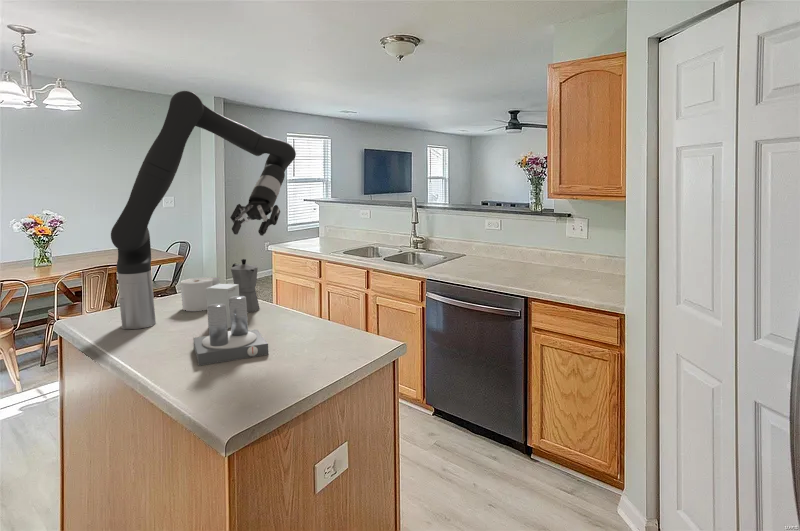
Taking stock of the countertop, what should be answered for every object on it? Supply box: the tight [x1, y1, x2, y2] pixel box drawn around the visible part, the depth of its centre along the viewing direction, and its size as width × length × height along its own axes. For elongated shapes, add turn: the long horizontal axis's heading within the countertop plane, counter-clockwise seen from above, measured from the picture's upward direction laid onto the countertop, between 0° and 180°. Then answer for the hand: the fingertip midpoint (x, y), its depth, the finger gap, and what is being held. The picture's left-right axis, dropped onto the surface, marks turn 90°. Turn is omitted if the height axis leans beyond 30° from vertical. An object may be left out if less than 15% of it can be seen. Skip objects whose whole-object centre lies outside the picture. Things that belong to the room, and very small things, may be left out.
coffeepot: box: [230, 258, 261, 314], centre depth 172 cm, size 15×9×18 cm, turn 44°
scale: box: [192, 328, 269, 366], centre depth 130 cm, size 17×14×4 cm
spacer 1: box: [207, 304, 229, 346], centre depth 125 cm, size 4×4×10 cm
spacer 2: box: [229, 296, 249, 336], centre depth 133 cm, size 4×4×10 cm
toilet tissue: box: [180, 276, 221, 312], centre depth 175 cm, size 11×12×10 cm
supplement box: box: [206, 283, 239, 330], centre depth 153 cm, size 7×7×13 cm
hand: (247, 233), depth 145 cm, fingers open, 8 cm apart
